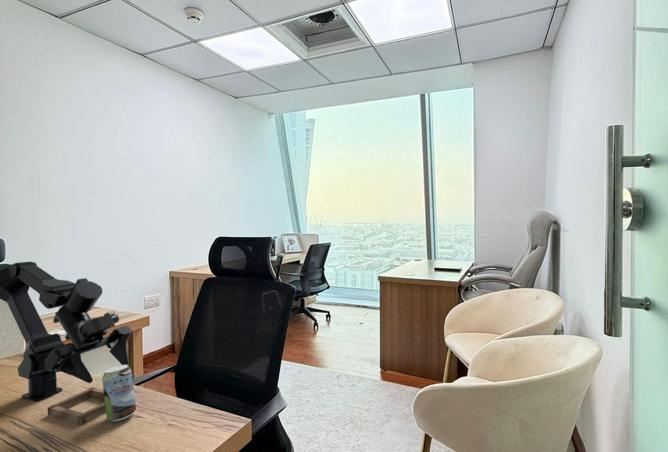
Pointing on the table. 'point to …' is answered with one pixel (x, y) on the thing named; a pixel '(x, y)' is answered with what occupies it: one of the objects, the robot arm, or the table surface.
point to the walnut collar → (72, 416)
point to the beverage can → (118, 392)
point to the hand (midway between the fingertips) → (110, 373)
